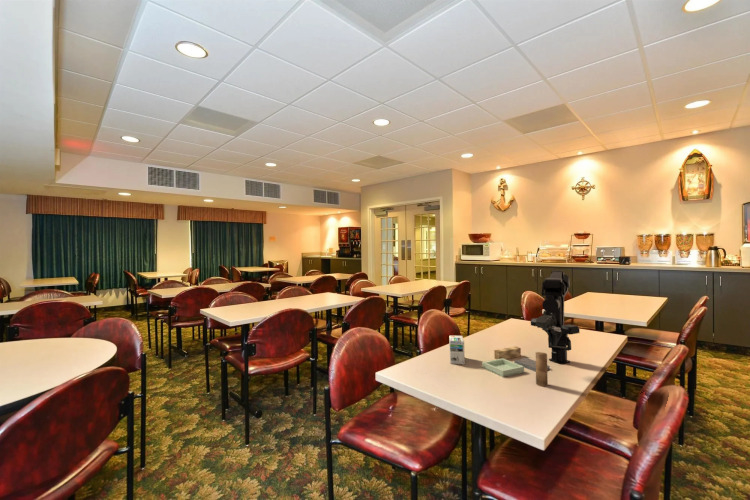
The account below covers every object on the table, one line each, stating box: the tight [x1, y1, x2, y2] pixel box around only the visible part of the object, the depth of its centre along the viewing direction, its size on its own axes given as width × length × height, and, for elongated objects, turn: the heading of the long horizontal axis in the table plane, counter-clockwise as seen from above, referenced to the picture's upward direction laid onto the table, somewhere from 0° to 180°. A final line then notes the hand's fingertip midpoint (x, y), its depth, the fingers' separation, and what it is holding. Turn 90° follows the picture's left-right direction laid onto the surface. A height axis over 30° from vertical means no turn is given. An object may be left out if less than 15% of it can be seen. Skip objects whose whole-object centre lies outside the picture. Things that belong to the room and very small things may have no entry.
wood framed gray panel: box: [513, 357, 551, 373], centre depth 147 cm, size 8×12×2 cm, turn 24°
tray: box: [482, 358, 525, 378], centre depth 143 cm, size 12×12×2 cm
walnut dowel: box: [535, 351, 549, 388], centre depth 127 cm, size 4×4×12 cm
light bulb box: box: [448, 334, 466, 365], centre depth 156 cm, size 11×7×11 cm, turn 168°
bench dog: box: [493, 346, 522, 360], centre depth 159 cm, size 14×3×4 cm, turn 114°
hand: (554, 346), depth 136 cm, fingers closed
